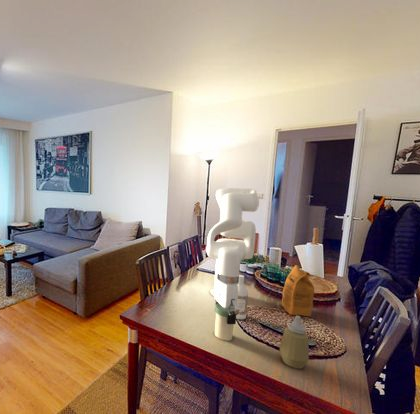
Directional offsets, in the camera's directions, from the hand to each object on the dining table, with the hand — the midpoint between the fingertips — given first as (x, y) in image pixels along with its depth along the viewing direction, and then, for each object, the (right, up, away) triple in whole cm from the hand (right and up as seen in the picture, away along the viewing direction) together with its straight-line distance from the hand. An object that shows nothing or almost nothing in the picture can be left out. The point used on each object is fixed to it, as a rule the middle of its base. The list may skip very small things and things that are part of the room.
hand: (224, 317), depth 113 cm
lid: (0, +4, -1) cm, 4 cm away
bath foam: (+15, -6, +16) cm, 23 cm away
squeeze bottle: (+15, -11, -15) cm, 24 cm away
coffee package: (+46, -5, +20) cm, 51 cm away
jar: (0, -8, +1) cm, 8 cm away
